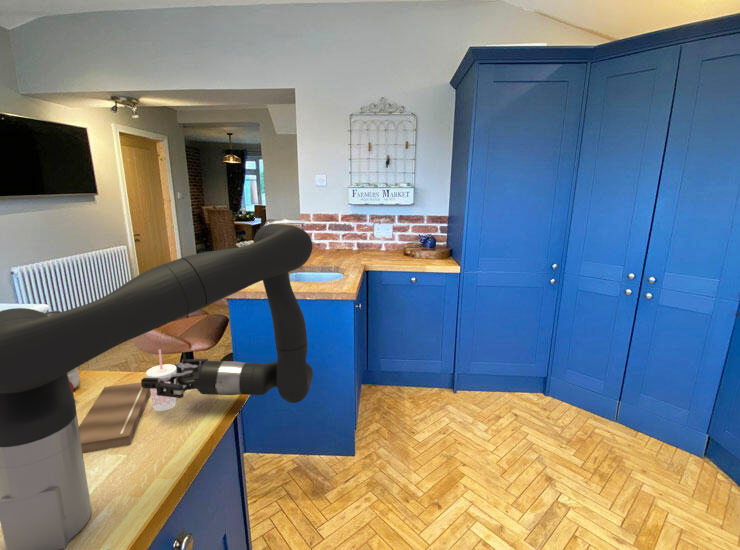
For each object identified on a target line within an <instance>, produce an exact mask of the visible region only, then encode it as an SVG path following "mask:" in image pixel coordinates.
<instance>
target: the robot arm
mask: <svg viewBox="0 0 740 550" xmlns="http://www.w3.org/2000/svg"><path fill="white" fill-rule="evenodd" d="M254 235H255V236H254V239H253V242H252V243H250V244H247V245H243V246H239V247H233V248H225V249H217V250H212V251H207V252H206V251H205V252H200V253H194V254H191V255H186V256H183V257H180V258H177V259H174V260H171V261H169V262H166V263H163V264H160V265H157V266H155V267H152V268H150V269H148V270H146V271H144V272H142V273H140V274H138V275H137V276H135V277H133V278H131V280H129V281H127V282H126V283H124V284H123V285H121V286H119V287H118V288H116V289H115V290H113V291H112V292H110V293H107V294H105V296H102V297H101V298H99V299H95V300H94V301H91V302H88V303H85V304H83V305H79V306H75V307H74V308H70V309H67V310H64V311H61V312H60V313H57V314H53V315H49V316H48V315H46V314H44V313H45V312H43V311H39V310H36V309H32V308H25V307H24V308H21V307H18V308H17V307H15V308H14V307H13V308H8V309H3V310H0V529H1V531H2V535H3V540H4V544H5V545H4V546H5V550H62V549H65V548H66V547H67V545H68V543H69V541H71V540H72V539H73V538H74V537H75V536H76V535H78V534H79V533H80V531H82V530H83V529H84V528H85V526H86V525H88V524H87V523H88V522H89V520H90V518H91V516H92V504H91V498H90V497H91V496H90V493H89V492H90V491H89V485H88V480H87V473H86V468H85V467H86V466H85V460H84V459H85V458H84V454H83V452H82V446H81V439H80V433H79V426H80V424H79V420H78V414H77V413H78V412H77V405H76V401H75V395H74V393H73V392H72V389H71V386H70V382H69V378H68V375H67V373H68V372H70V371H71V370H73V369H75V368H76V369H77V368H78V367H80V366H82V365H83V364H86V363H87V362H90V361H91V360H92V359H95V358H97V357H99V356H101V355H103V354H104V353H105V352H108V351H109V350H111V349H114V348H115V347H118V346H120V345H121V344H123V343H127V342H128V341H130V340H133V339H134V338H137V337H140V336H142V335H144V334H146V333H150V332H151V331H153V330H156V329H158V328H160V327H162V326H164V325H167V324H169V323H172V322H174V321H176V320H179V319H182V318H184V317H186V316H188V315H190V314H192V313H193V314H194V313H195V312H198V311H199V310H202V309H204V308H206V307H208V306H210V305H213V304H214V303H216V302H218V301H221V300H223V299H225V298H228V297H230V296H232V295H234V294H235V293H238V292H240V291H242V290H244V289H246V288H248V287H251V286H252V285H255V284H257V283H259V282H261V281H262V283H263V286H264V287H263V288H264V290H265V293H266V297H267V298H266V299H267V301H268V305H269V309H270V315H271V320H272V327H273V334H274V335H273V336H274V343H275V349H276V350H275V351H276V361H272V362H271V361H270V362H267V363H255V362H241V361H234V360H233V361H231V360H230V361H227V360H209V359H208V358H192V359H190V358H189V359H182V360H181V362H176V363H171V364H172V365H175V366H176V368H177V372H176V373H175V374H172V375H171V376H170V377H167V378H161V379H160V378H147V377H143V378H141V380H140V383H141V385H142V388H150V389H157V395H158V396H167V397H176V399H181V398H183V397H185V392H187V391H190V390H197V391H198V392H199V393H200V394H201V395H208V396H209V395H212V396H238V395H239V396H240V395H252V396H253V395H254V396H260V395H266V394H267V393H268V392H269V391H270V390H271V389H273V388H276V389H277V391H278V393H279V396H280V397H281V398H282V399H283V400H284V401H285V402H287V403H291V404H297V403H299V402H302V401H303V400H304V399H305V398H306V397H307V395H308V393H309V392H310V389H311V385H312V384H311V383H312V381H313V375H314V371H313V368H312V366H311V365H310V364H309V362H307V355H308V350H309V349H308V348H309V345H308V344H309V343H308V334H307V332H308V331H307V325H306V320H305V317H304V314H303V311H302V309H301V306H300V303H299V302H298V300H297V298H296V295H295V293H294V290H293V288H292V284H291V281H290V280H291V279H290V275H289V272H292V271H295V270H298V269H299V268H301V267H303V266H304V265H305V264H306V263H307V262H308V260H309V259H310V258H311V255H312V251H313V241H312V238H311V236H310V235H309V234H308V232H307V231H306V230H304V229H303V228H300V227H299V226H295V225H291V224H279V223H278V224H277V223H276V224H275V223H274V224H273V223H269V224H265V225H263V226H262V227H260V228H259V229H258V230H257V231H256V233H255V234H254ZM163 364H164V363H162V365H163ZM176 378H177V384H175V382H174V379H176ZM164 382H170V383H171V384H170V383H164ZM164 390H166V391H164Z"/></svg>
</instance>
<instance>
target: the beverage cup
mask: <svg viewBox="0 0 740 550" xmlns="http://www.w3.org/2000/svg"><path fill="white" fill-rule="evenodd" d="M158 359H159V365H158V364H157V365H155V366H152V367H151V368H149V369H147V370H146V372H145V376H146V378H160V379H161V378H167V377H170V376H171V375H172V374H177V373H176V372H177V368H176V366H175V365H172V364H173V363H163V360H162V359H163V358H162V349H161V348H160V349H158ZM162 364H163V365H162ZM174 382H175V379H174ZM164 383H170V382H164ZM170 384H171V383H170ZM175 384H176V383H175ZM164 391H166V390H164ZM150 392H151V394H150V397H151V398H150V399H151V403H152V407H153V410H155V411H157V412H162V411H163V412H164V411H168V410H170V409H172V408H174V407H175V405H176V399H177V398H176V397H167V396H158V395H157V389H150Z"/></svg>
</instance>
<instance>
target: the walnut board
mask: <svg viewBox="0 0 740 550" xmlns="http://www.w3.org/2000/svg"><path fill="white" fill-rule="evenodd" d="M175 383H176V384H177V378H176V379H175ZM150 397H151V392H150V388H142V385H141V382H135V383H125V384H119V385H116V384H115V385H110V386H109V385H108V386H104V387H103V389H102V390H101V392H100V394H99V395H98V397H97V398H96V400H95V401H94V403H93V404H92V406H91V407H90V409H89V411H88V412H87V414H86V415H85V417H84V418H83V420H82V421H81V423H80V424H79V433H80V439H81V446H82V452H83V453H90V452H95V451H102V450H107V449H113V448H119V447H123V446H130V445H131V444H132V440H133V439H134V436H135V433H136V431H137V427H138V426H139V423H140V420H141V418H142V416H143V413H144V411H145V408H146V406H147V403H148V401H149V398H150Z"/></svg>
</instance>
